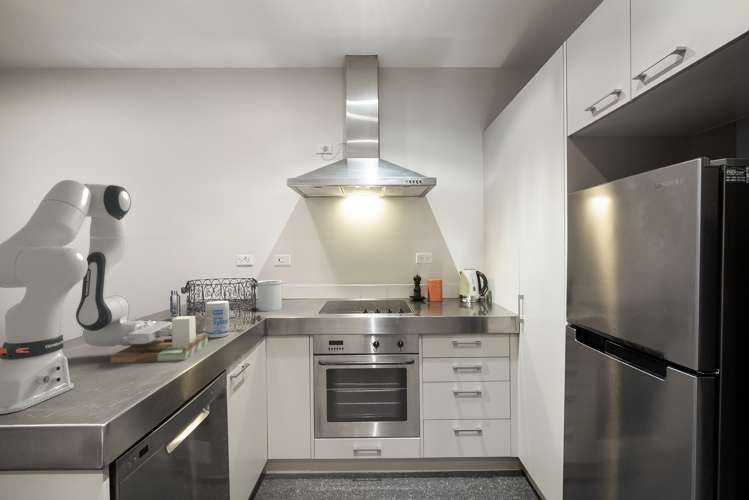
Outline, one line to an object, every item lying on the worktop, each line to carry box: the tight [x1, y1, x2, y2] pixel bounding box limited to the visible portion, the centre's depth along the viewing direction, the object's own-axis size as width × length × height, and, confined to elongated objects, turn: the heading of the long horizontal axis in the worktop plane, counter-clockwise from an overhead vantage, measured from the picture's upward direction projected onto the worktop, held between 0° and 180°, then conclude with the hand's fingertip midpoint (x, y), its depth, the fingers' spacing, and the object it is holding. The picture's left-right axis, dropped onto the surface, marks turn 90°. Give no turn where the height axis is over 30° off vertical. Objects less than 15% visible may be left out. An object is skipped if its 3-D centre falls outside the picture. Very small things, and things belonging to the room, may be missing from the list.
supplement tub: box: [204, 300, 230, 339], centre depth 161 cm, size 10×10×15 cm
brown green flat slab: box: [109, 332, 209, 364], centre depth 136 cm, size 22×24×4 cm
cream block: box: [171, 315, 197, 347], centre depth 137 cm, size 6×6×10 cm
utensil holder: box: [256, 279, 283, 312], centre depth 229 cm, size 15×15×18 cm
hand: (175, 331), depth 136 cm, fingers closed, pressing on cream block
